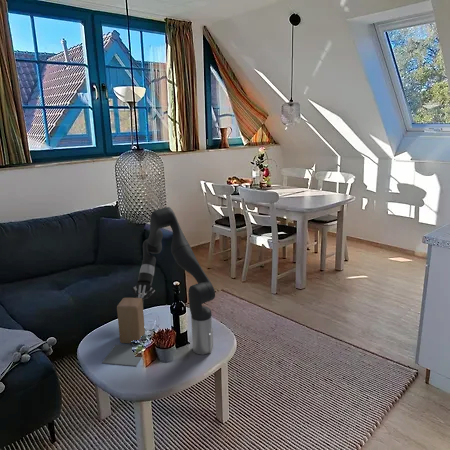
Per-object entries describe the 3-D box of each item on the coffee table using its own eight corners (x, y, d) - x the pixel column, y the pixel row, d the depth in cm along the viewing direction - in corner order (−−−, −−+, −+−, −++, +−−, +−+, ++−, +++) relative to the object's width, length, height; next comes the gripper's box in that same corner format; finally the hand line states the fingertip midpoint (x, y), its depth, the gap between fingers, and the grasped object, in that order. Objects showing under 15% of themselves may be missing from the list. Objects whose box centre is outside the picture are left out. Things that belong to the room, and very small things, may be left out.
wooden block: (145, 333, 201) (142, 297, 195) (139, 344, 191) (136, 307, 185) (126, 332, 202) (123, 296, 196) (119, 343, 192) (115, 306, 186)
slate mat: (147, 348, 188) (147, 347, 188) (136, 366, 175) (136, 365, 175) (115, 345, 191) (115, 344, 190) (102, 363, 177) (102, 362, 177)
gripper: (132, 271, 210) (124, 303, 201) (156, 272, 207) (149, 304, 199) (136, 276, 216) (129, 307, 208) (160, 277, 214) (154, 309, 206)
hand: (139, 306), depth 204 cm, fingers closed
